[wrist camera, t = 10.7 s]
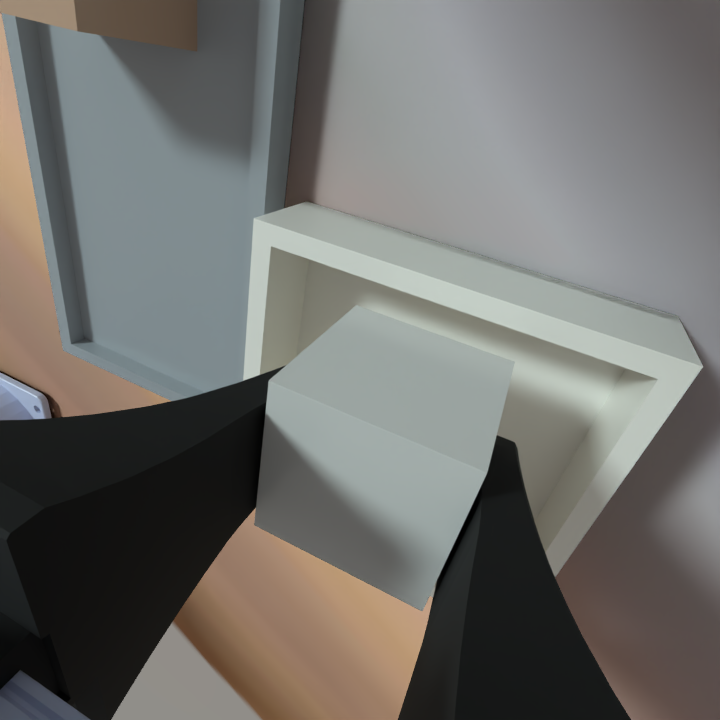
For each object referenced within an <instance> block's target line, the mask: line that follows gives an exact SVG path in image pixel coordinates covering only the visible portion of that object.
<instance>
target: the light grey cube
mask: <svg viewBox="0 0 720 720" xmlns="http://www.w3.org/2000/svg"><path fill="white" fill-rule="evenodd" d="M514 364H515V362H514V361H511V360H508V359H505V358H503V357H500V356H497V355H494V354H491V353H489V352H486V351H483V350H480V349H477V348H475V347H472V346H469V345H466V344H464V343H461V342H458V341H455V340H452V339H450V338H447V337H444V336H441V335H438V334H436V333H433V332H430V331H427V330H424V329H422V328H419V327H416V326H413V325H410V324H408V323H405V322H402V321H399V320H397V319H394V318H391V317H388V316H385V315H383V314H380V313H377V312H374V311H371V310H369V309H366V308H363V307H360V306H357V305H356V306H355V307H354V308H352V309H351V310H350V311H349V312H348V313H347V314H345V315H344V316H343V317H342V318H341V319H340V320H338V321H337V322H336V323H335V324H334V325H333V326H331V327H330V328H329V329H328V330H327V331H326V332H325V333H323V334H322V335H321V336H320V337H319V338H318V339H316V340H315V341H314V342H313V343H312V344H311V345H309V346H308V347H307V348H306V349H305V350H304V351H302V352H301V353H300V354H299V355H298V356H297V357H295V358H294V359H293V360H292V361H291V362H290V363H288V364H287V365H286V366H285V367H284V368H283V369H281V370H280V371H279V372H278V373H277V374H276V375H274V376H273V377H272V378H271V379H270V380H269V382H268V392H267V402H266V413H265V423H264V433H263V443H262V453H261V463H260V473H259V483H258V493H257V503H256V513H255V523H254V525H255V526H257V527H259V528H261V529H263V530H265V531H267V532H269V533H271V534H273V535H275V536H277V537H278V538H280V539H282V540H284V541H286V542H288V543H290V544H292V545H294V546H296V547H298V548H300V549H302V550H304V551H306V552H308V553H310V554H312V555H313V556H315V557H317V558H319V559H321V560H323V561H325V562H327V563H329V564H331V565H333V566H335V567H337V568H339V569H341V570H343V571H345V572H347V573H348V574H350V575H352V576H354V577H356V578H358V579H360V580H362V581H364V582H366V583H368V584H370V585H372V586H374V587H376V588H378V589H380V590H382V591H384V592H385V593H387V594H389V595H391V596H393V597H395V598H397V599H399V600H401V601H403V602H405V603H407V604H409V605H411V606H413V607H415V608H417V609H419V610H420V611H423V609H424V607H425V604H426V602H427V600H428V598H429V596H430V594H431V592H432V590H433V587H434V585H435V583H436V581H437V579H438V577H439V575H440V573H441V570H442V568H443V566H444V564H445V562H446V560H447V558H448V556H449V553H450V551H451V549H452V547H453V545H454V543H455V541H456V538H457V536H458V534H459V532H460V530H461V528H462V526H463V524H464V521H465V519H466V517H467V515H468V513H469V511H470V509H471V507H472V504H473V502H474V500H475V498H476V496H477V494H478V492H479V490H480V487H481V485H482V483H483V481H484V479H485V477H486V475H487V472H488V468H489V464H490V460H491V456H492V452H493V448H494V444H495V440H496V436H497V432H498V428H499V424H500V420H501V416H502V412H503V408H504V404H505V400H506V396H507V392H508V388H509V384H510V380H511V376H512V372H513V368H514Z"/></svg>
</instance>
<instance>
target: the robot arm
mask: <svg viewBox="0 0 720 720" xmlns="http://www.w3.org/2000/svg"><path fill="white" fill-rule="evenodd" d="M285 366H286V365H285ZM285 366H283V367H280V368H277V369H275V370H272V371H269V372H267V373H264V374H261V375H258V376H255V377H252V378H250V379H247V380H244V381H241V382H238V383H235V384H232V385H229V386H225V387H222V388H219V389H216V390H212V391H209V392H206V393H202V394H199V395H195V396H192V397H188V398H184V399H180V400H176V401H171V402H166V403H162V404H157V405H152V406H147V407H141V408H134V409H128V410H121V411H114V412H108V413H101V414H93V415H83V416H73V417H61V418H52V417H51V413H50V408H49V403H48V400H47V398H46V397H45V396H44V395H43V394H42V393H40V392H38V391H36V390H34V389H32V388H30V387H28V386H26V385H24V384H22V383H20V382H18V381H16V380H14V379H12V378H10V377H8V376H6V375H4V374H2V373H0V720H111V719H112V717H113V715H114V714H115V712H116V710H117V709H118V707H119V705H120V704H121V702H122V701H123V699H124V697H125V696H126V694H127V692H128V691H129V689H130V687H131V686H132V684H133V683H134V681H135V679H136V678H137V676H138V674H139V673H140V671H141V669H142V668H143V666H144V665H145V663H146V662H147V660H148V658H149V657H150V655H151V654H152V652H153V651H154V649H155V648H156V646H157V644H158V643H159V641H160V639H161V638H162V637H163V635H164V634H165V632H166V631H167V629H168V627H169V626H170V624H171V623H172V621H173V620H174V618H175V617H176V615H177V614H178V612H179V611H180V609H181V608H182V606H183V605H184V603H185V602H186V600H187V599H188V597H189V596H190V594H191V593H192V591H193V590H194V588H195V587H196V586H197V584H198V583H199V581H200V580H201V578H202V577H203V575H204V574H205V572H206V571H207V570H208V568H209V567H210V565H211V564H212V562H213V561H214V560H215V558H216V557H217V555H218V554H219V553H220V551H221V550H222V548H223V547H224V546H225V544H226V543H227V541H228V540H229V539H230V537H231V536H232V535H233V534H234V532H235V531H236V530H237V529H238V527H239V526H240V525H241V524H242V523H243V521H244V520H245V519H246V518H247V517H248V516H249V515H250V513H251V512H252V511H253V510H254V509H255V508H256V503H257V493H258V483H259V473H260V463H261V453H262V443H263V433H264V423H265V413H266V402H267V392H268V382H269V380H270V379H271V378H272V377H273V376H274V375H276V374H277V373H278V372H279V371H280V370H281V369H283V368H284V367H285ZM398 720H631V719H630V717H629V716H628V714H627V713H626V711H625V709H624V708H623V706H622V705H621V703H620V701H619V700H618V698H617V697H616V695H615V693H614V692H613V690H612V688H611V687H610V685H609V683H608V681H607V679H606V678H605V676H604V674H603V672H602V670H601V669H600V667H599V665H598V663H597V662H596V660H595V658H594V656H593V654H592V653H591V651H590V649H589V647H588V645H587V644H586V642H585V640H584V638H583V636H582V634H581V632H580V630H579V628H578V626H577V624H576V622H575V620H574V618H573V616H572V614H571V612H570V610H569V608H568V606H567V604H566V601H565V599H564V597H563V595H562V592H561V590H560V588H559V586H558V584H557V581H556V579H555V576H554V574H553V571H552V569H551V566H550V564H549V561H548V559H547V556H546V553H545V551H544V548H543V545H542V542H541V539H540V537H539V534H538V531H537V527H536V524H535V521H534V518H533V514H532V511H531V508H530V504H529V501H528V497H527V493H526V489H525V485H524V481H523V476H522V472H521V467H520V461H519V455H518V448H517V446H516V444H515V442H513V441H511V440H508V439H506V438H503V437H501V436H498V435H497V436H496V440H495V444H494V448H493V452H492V456H491V460H490V464H489V468H488V472H487V475H486V477H485V479H484V481H483V483H482V485H481V487H480V490H479V492H478V494H477V496H476V498H475V500H474V502H473V504H472V507H471V509H470V511H469V513H468V515H467V517H466V519H465V521H464V524H463V526H462V528H461V530H460V532H459V534H458V536H457V538H456V541H455V543H454V545H453V547H452V549H451V551H450V553H449V556H448V558H447V560H446V562H445V564H444V566H443V568H442V570H441V573H440V575H439V577H438V579H437V582H436V587H435V592H434V596H433V601H432V605H431V610H430V615H429V619H428V624H427V627H426V631H425V635H424V639H423V643H422V646H421V649H420V652H419V655H418V659H417V662H416V665H415V668H414V671H413V674H412V677H411V681H410V684H409V687H408V690H407V693H406V696H405V699H404V702H403V706H402V709H401V712H400V715H399V718H398Z"/></svg>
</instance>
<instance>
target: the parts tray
mask: <svg viewBox="0 0 720 720" xmlns="http://www.w3.org/2000/svg"><path fill="white" fill-rule="evenodd" d="M304 1H305V0H197V51H191V50H185V49H179V48H173V47H167V46H161V45H155V44H149V43H143V42H137V41H132V40H126V39H120V38H114V37H108V36H102V35H96V34H90V33H84V32H78V31H74V30H70V29H66V28H62V27H57V26H53V25H49V24H45V23H41V22H37V21H33V20H29V19H24V18H20V17H16V16H12V15H8V14H4V13H2V18H3V23H4V29H5V34H6V40H7V45H8V51H9V56H10V61H11V67H12V72H13V78H14V83H15V89H16V94H17V100H18V105H19V111H20V116H21V122H22V127H23V133H24V138H25V144H26V149H27V155H28V160H29V166H30V171H31V177H32V182H33V187H34V193H35V198H36V204H37V209H38V215H39V220H40V226H41V231H42V237H43V242H44V248H45V253H46V259H47V264H48V270H49V275H50V281H51V286H52V292H53V297H54V303H55V308H56V313H57V319H58V324H59V330H60V335H61V341H62V346H63V351H65V352H67V353H70V354H72V355H74V356H76V357H78V358H80V359H83V360H85V361H87V362H89V363H91V364H93V365H95V366H98V367H100V368H102V369H104V370H106V371H108V372H111V373H113V374H115V375H117V376H119V377H121V378H123V379H126V380H128V381H130V382H132V383H134V384H136V385H138V386H141V387H143V388H145V389H147V390H149V391H151V392H154V393H156V394H158V395H160V396H162V397H164V398H166V399H169V400H171V401H176V400H180V399H184V398H188V397H192V396H195V395H199V394H202V393H206V392H209V391H212V390H216V389H219V388H222V387H225V386H229V385H232V384H235V383H238V382H241V381H243V375H244V360H245V345H246V329H247V314H248V298H249V283H250V267H251V252H252V236H253V221H254V218H256V217H259V216H262V215H265V214H269V213H272V212H275V211H278V210H281V209H284V204H285V194H286V184H287V174H288V164H289V154H290V143H291V133H292V123H293V113H294V103H295V93H296V83H297V72H298V62H299V52H300V42H301V32H302V22H303V12H304Z"/></svg>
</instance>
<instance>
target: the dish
mask: <svg viewBox="0 0 720 720" xmlns="http://www.w3.org/2000/svg"><path fill="white" fill-rule="evenodd" d="M356 305H357V306H360V307H363V308H366V309H369V310H371V311H374V312H377V313H380V314H383V315H385V316H388V317H391V318H394V319H397V320H399V321H402V322H405V323H408V324H410V325H413V326H416V327H419V328H422V329H424V330H427V331H430V332H433V333H436V334H438V335H441V336H444V337H447V338H450V339H452V340H455V341H458V342H461V343H464V344H466V345H469V346H472V347H475V348H477V349H480V350H483V351H486V352H489V353H491V354H494V355H497V356H500V357H503V358H505V359H508V360H511V361H514V362H515V364H514V368H513V372H512V376H511V380H510V384H509V388H508V392H507V396H506V400H505V404H504V408H503V412H502V416H501V420H500V424H499V428H498V432H497V435H498V436H501V437H503V438H506V439H508V440H511V441H513V442H515V444H516V446H517V448H518V455H519V461H520V467H521V472H522V476H523V481H524V485H525V489H526V493H527V497H528V501H529V504H530V508H531V511H532V514H533V518H534V521H535V524H536V527H537V531H538V534H539V537H540V539H541V542H542V545H543V548H544V551H545V553H546V556H547V559H548V561H549V564H550V566H551V569H552V571H553V574H554V576H555V577H556V575H557V574H558V573H559V571H560V570H561V568H562V567H563V565H564V564H565V563H566V561H567V560H568V558H569V557H570V556H571V554H572V553H573V551H574V550H575V548H576V547H577V546H578V544H579V543H580V541H581V540H582V538H583V537H584V536H585V534H586V533H587V531H588V530H589V528H590V527H591V526H592V524H593V523H594V521H595V520H596V519H597V517H598V516H599V514H600V513H601V511H602V510H603V509H604V507H605V506H606V504H607V503H608V501H609V500H610V499H611V497H612V496H613V494H614V493H615V492H616V490H617V489H618V487H619V486H620V484H621V483H622V482H623V480H624V479H625V477H626V476H627V474H628V473H629V472H630V470H631V469H632V467H633V466H634V464H635V463H636V462H637V460H638V459H639V457H640V456H641V455H642V453H643V452H644V450H645V449H646V447H647V446H648V445H649V443H650V442H651V440H652V439H653V437H654V436H655V435H656V433H657V432H658V430H659V429H660V427H661V426H662V425H663V423H664V422H665V420H666V419H667V418H668V416H669V415H670V413H671V412H672V410H673V409H674V408H675V406H676V405H677V403H678V402H679V400H680V399H681V398H682V396H683V395H684V393H685V392H686V390H687V389H688V388H689V386H690V385H691V383H692V382H693V381H694V379H695V378H696V376H697V375H698V373H699V372H700V371H701V369H702V368H703V365H702V363H701V361H700V359H699V357H698V355H697V353H696V351H695V349H694V347H693V345H692V343H691V341H690V339H689V337H688V335H687V333H686V331H685V329H684V327H683V325H682V323H681V321H680V319H679V317H678V316H675V315H672V314H669V313H665V312H662V311H659V310H656V309H653V308H649V307H646V306H643V305H640V304H636V303H633V302H630V301H627V300H623V299H620V298H617V297H614V296H611V295H607V294H604V293H601V292H598V291H594V290H591V289H588V288H585V287H582V286H578V285H575V284H572V283H569V282H565V281H562V280H559V279H556V278H552V277H549V276H546V275H543V274H540V273H536V272H533V271H530V270H527V269H523V268H520V267H517V266H514V265H511V264H507V263H504V262H501V261H498V260H494V259H491V258H488V257H485V256H481V255H478V254H475V253H472V252H469V251H465V250H462V249H459V248H456V247H452V246H449V245H446V244H443V243H440V242H436V241H433V240H430V239H427V238H423V237H420V236H417V235H414V234H410V233H407V232H404V231H401V230H398V229H394V228H391V227H388V226H385V225H381V224H378V223H375V222H372V221H369V220H365V219H362V218H359V217H356V216H352V215H349V214H346V213H343V212H339V211H336V210H333V209H330V208H327V207H323V206H320V205H317V204H314V203H310V202H303V203H300V204H297V205H294V206H291V207H288V208H284V209H281V210H278V211H275V212H272V213H269V214H265V215H262V216H259V217H256V218H254V221H253V236H252V252H251V267H250V283H249V298H248V314H247V329H246V345H245V360H244V375H243V381H244V380H247V379H250V378H252V377H255V376H258V375H261V374H264V373H267V372H269V371H272V370H275V369H277V368H280V367H283V366H285V365H287V364H288V363H290V362H291V361H292V360H293V359H294V358H295V357H297V356H298V355H299V354H300V353H301V352H302V351H304V350H305V349H306V348H307V347H308V346H309V345H311V344H312V343H313V342H314V341H315V340H316V339H318V338H319V337H320V336H321V335H322V334H323V333H325V332H326V331H327V330H328V329H329V328H330V327H331V326H333V325H334V324H335V323H336V322H337V321H338V320H340V319H341V318H342V317H343V316H344V315H345V314H347V313H348V312H349V311H350V310H351V309H352V308H354V307H355V306H356ZM436 582H437V581H436ZM435 587H436V583H435V585H434V587H433V590H432V592H431V594H430V596H431V597H433V596H434V592H435Z"/></svg>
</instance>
